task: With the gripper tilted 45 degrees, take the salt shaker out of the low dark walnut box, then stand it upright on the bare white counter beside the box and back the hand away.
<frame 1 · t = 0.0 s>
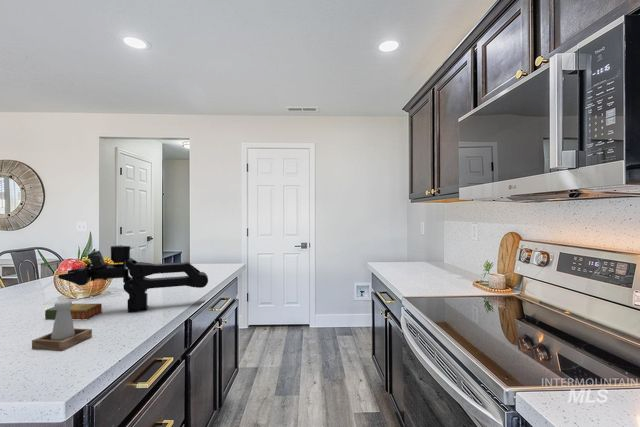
hand: (63, 274, 121), 17 cm above the counter, tool horizontal, fingers open, 9 cm apart
salt shaker: (63, 343, 97), resting in walnut box
carton: (74, 317, 122), on the counter
walnut box: (63, 342, 97), on the counter
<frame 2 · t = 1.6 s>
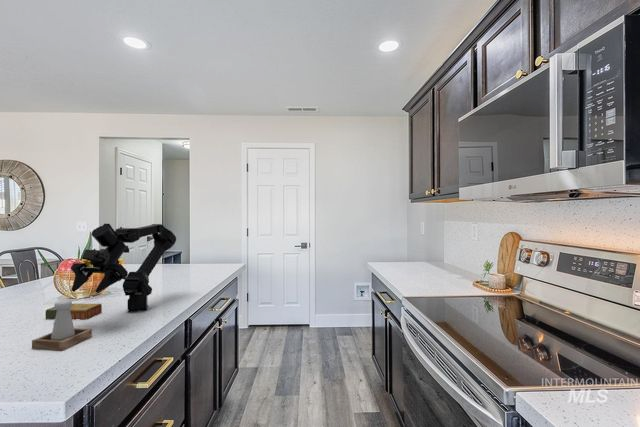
hand: (84, 291, 105), 14 cm above the counter, tool tilted 45°, fingers open, 9 cm apart
nothing on the counter moved.
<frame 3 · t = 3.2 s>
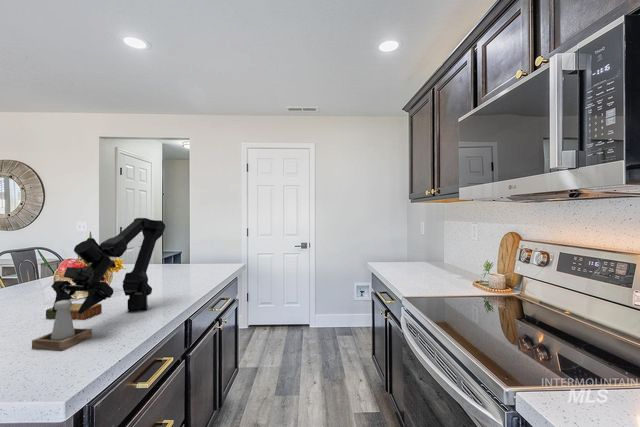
hand: (66, 312, 98), 9 cm above the counter, tool tilted 45°, fingers open, 9 cm apart
nothing on the counter moved.
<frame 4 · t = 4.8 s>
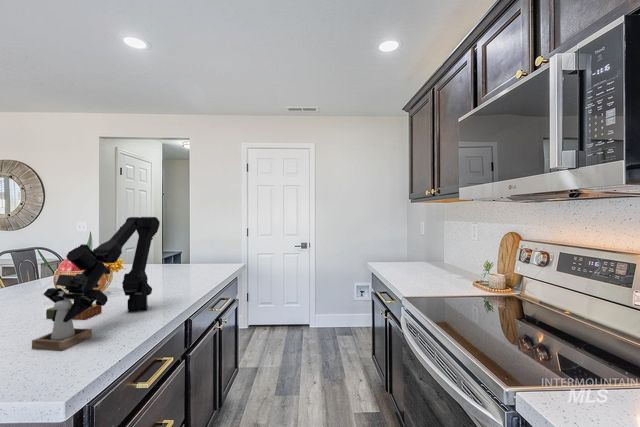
hand: (58, 321, 96), 7 cm above the counter, tool tilted 45°, fingers closed on salt shaker, 3 cm apart
salt shaker: (63, 343, 97), resting in walnut box, touching gripper
everything else where it was.
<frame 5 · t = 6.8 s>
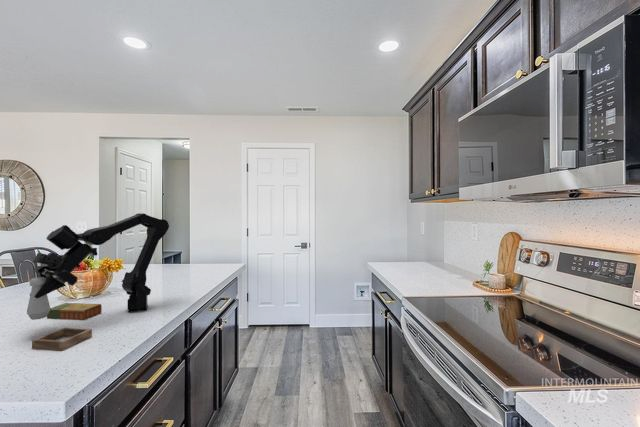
hand: (33, 296, 101), 13 cm above the counter, tool tilted 45°, fingers closed on salt shaker, 3 cm apart
salt shaker: (38, 318, 102), point 6 cm above the counter, touching gripper
everything else where it was.
when the fingers open (8 cm above the counter, at t = 8.8 s): salt shaker drops 1 cm, on the counter.
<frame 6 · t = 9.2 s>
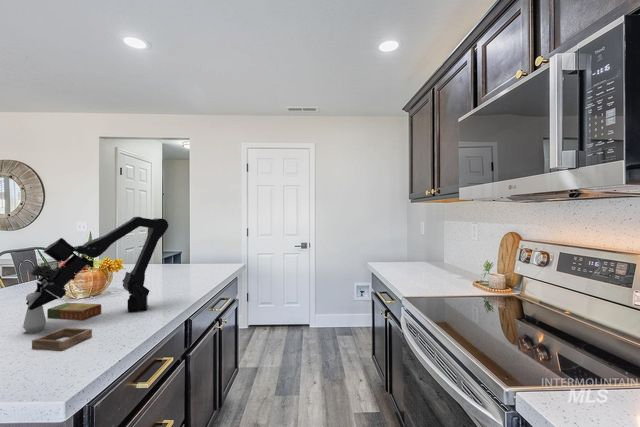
hand: (28, 307, 106), 9 cm above the counter, tool tilted 45°, fingers open, 7 cm apart
salt shaker: (34, 331, 107), on the counter
everything else where it was.
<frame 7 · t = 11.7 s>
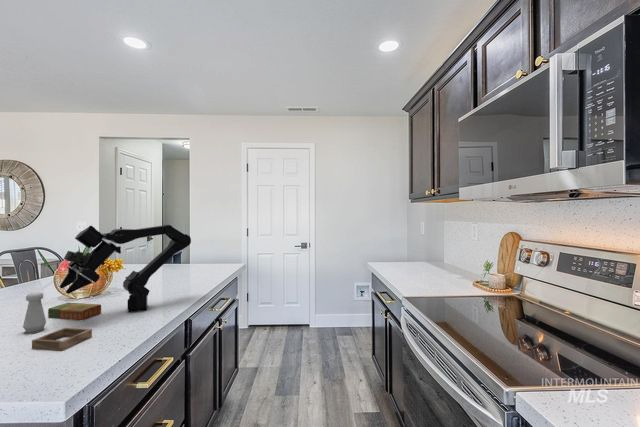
hand: (63, 290, 112), 12 cm above the counter, tool tilted 45°, fingers open, 9 cm apart
nothing on the counter moved.
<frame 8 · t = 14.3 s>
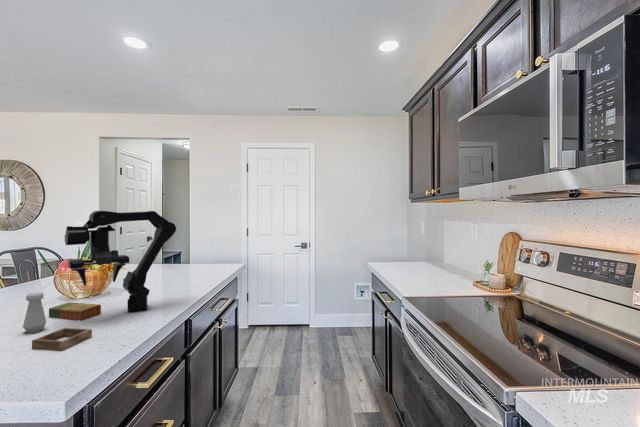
hand: (99, 283, 120), 13 cm above the counter, tool pointing down, fingers open, 9 cm apart
at the end: salt shaker inside the target area (0.2 cm from its centre), on the counter; salt shaker tilted 0°; the gripper is holding nothing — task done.
